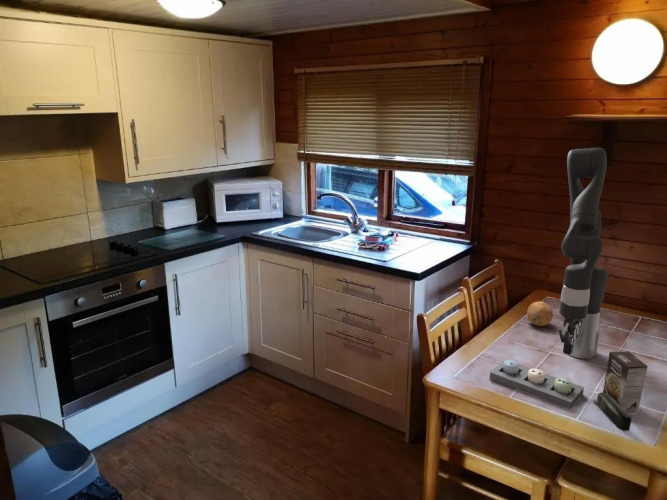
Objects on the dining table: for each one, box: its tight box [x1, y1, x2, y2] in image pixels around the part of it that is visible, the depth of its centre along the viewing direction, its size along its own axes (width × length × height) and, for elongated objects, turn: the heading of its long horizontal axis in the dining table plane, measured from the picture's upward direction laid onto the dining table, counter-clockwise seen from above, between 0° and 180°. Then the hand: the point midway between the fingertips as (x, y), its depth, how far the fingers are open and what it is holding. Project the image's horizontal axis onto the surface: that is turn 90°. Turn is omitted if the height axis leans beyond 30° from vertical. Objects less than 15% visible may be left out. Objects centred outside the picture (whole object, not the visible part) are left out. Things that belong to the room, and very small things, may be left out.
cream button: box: [527, 368, 546, 386], centre depth 167 cm, size 5×5×3 cm
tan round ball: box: [526, 301, 554, 327], centre depth 211 cm, size 10×10×10 cm
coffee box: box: [602, 350, 648, 415], centre depth 155 cm, size 9×6×16 cm
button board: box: [489, 359, 585, 410], centre depth 168 cm, size 26×11×2 cm, turn 47°
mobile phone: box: [592, 391, 632, 432], centre depth 152 cm, size 5×3×15 cm
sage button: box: [554, 377, 573, 396], centre depth 162 cm, size 5×5×3 cm
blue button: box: [502, 359, 520, 377], centre depth 173 cm, size 5×5×3 cm
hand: (567, 353), depth 158 cm, fingers closed
